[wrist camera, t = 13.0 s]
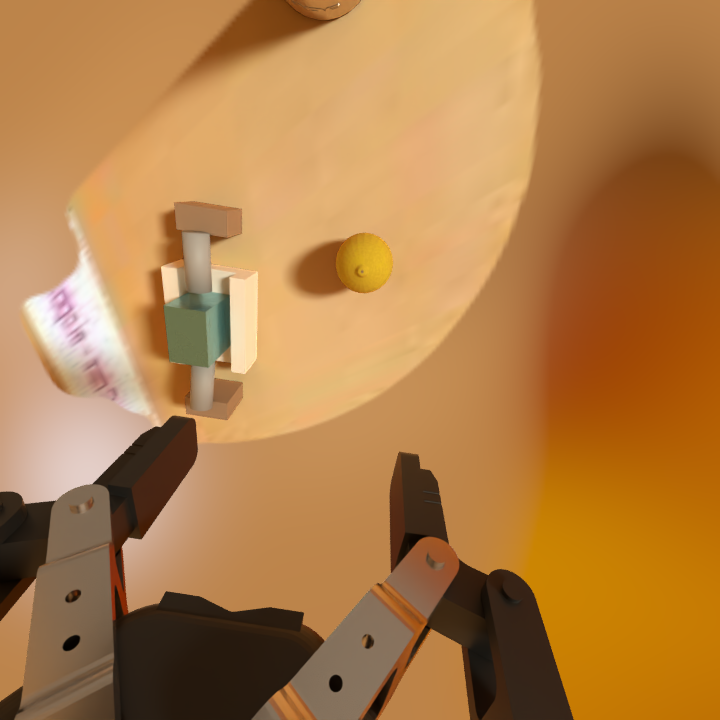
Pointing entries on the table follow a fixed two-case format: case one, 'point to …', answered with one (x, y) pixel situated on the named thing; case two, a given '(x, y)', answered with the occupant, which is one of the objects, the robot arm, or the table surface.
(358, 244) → the lemon
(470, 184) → the table surface
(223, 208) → the shaft rig
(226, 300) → the green rectangular block
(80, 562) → the robot arm
